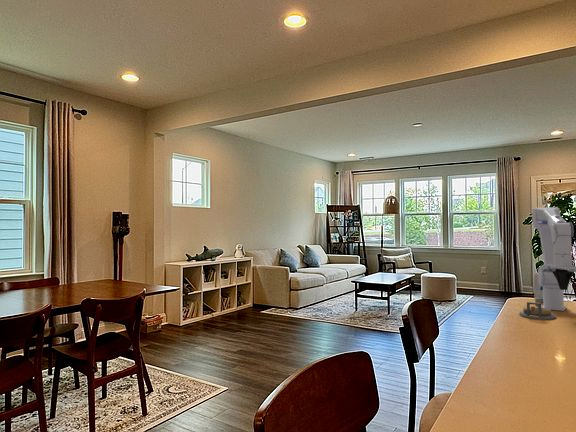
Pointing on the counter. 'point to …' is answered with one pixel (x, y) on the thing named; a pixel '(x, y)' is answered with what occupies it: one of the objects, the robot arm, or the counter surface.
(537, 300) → the capstan disc
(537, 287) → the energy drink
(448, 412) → the counter surface
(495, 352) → the counter surface
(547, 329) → the counter surface
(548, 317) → the disc
